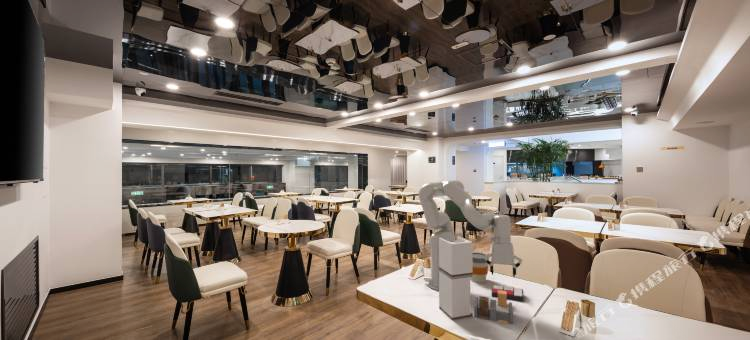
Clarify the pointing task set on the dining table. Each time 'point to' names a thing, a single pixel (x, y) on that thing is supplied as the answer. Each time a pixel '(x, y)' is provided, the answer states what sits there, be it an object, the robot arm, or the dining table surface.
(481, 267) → the reusable coffee cup
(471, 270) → the banded white column
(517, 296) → the calculator
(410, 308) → the dining table surface
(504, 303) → the tan tall block
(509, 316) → the grey slotted rack
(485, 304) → the walnut plug
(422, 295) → the dining table surface
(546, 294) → the dining table surface
